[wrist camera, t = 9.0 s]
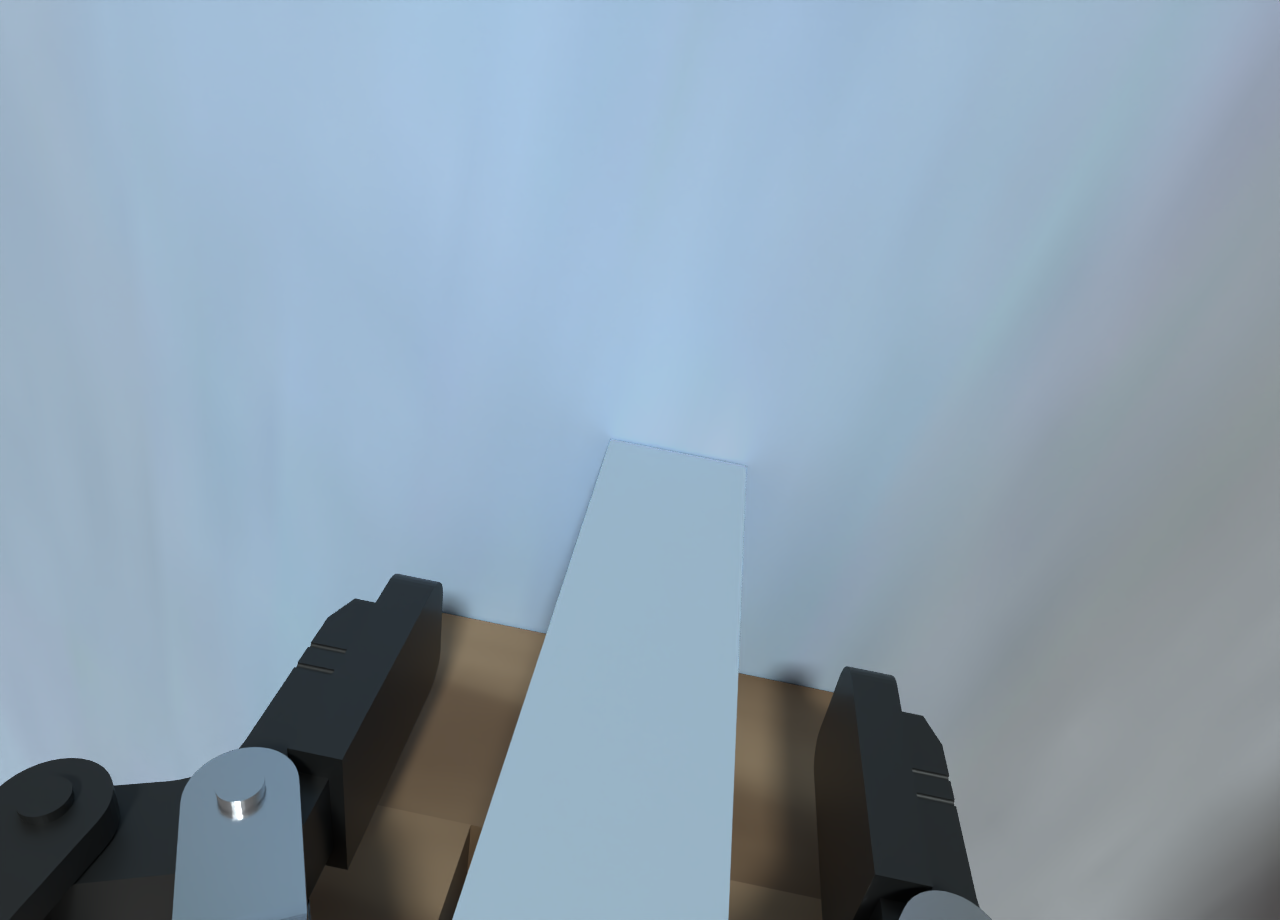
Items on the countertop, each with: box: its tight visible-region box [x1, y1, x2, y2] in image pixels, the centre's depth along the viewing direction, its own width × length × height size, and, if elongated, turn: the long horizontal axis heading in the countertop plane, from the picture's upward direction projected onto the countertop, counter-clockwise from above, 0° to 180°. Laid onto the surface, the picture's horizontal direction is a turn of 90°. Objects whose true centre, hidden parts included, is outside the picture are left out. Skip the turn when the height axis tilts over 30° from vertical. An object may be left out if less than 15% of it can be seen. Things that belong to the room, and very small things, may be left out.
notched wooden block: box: [310, 613, 833, 920], centre depth 14 cm, size 2×10×9 cm, turn 81°
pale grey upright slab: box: [452, 439, 747, 920], centre depth 14 cm, size 2×12×9 cm, turn 171°
